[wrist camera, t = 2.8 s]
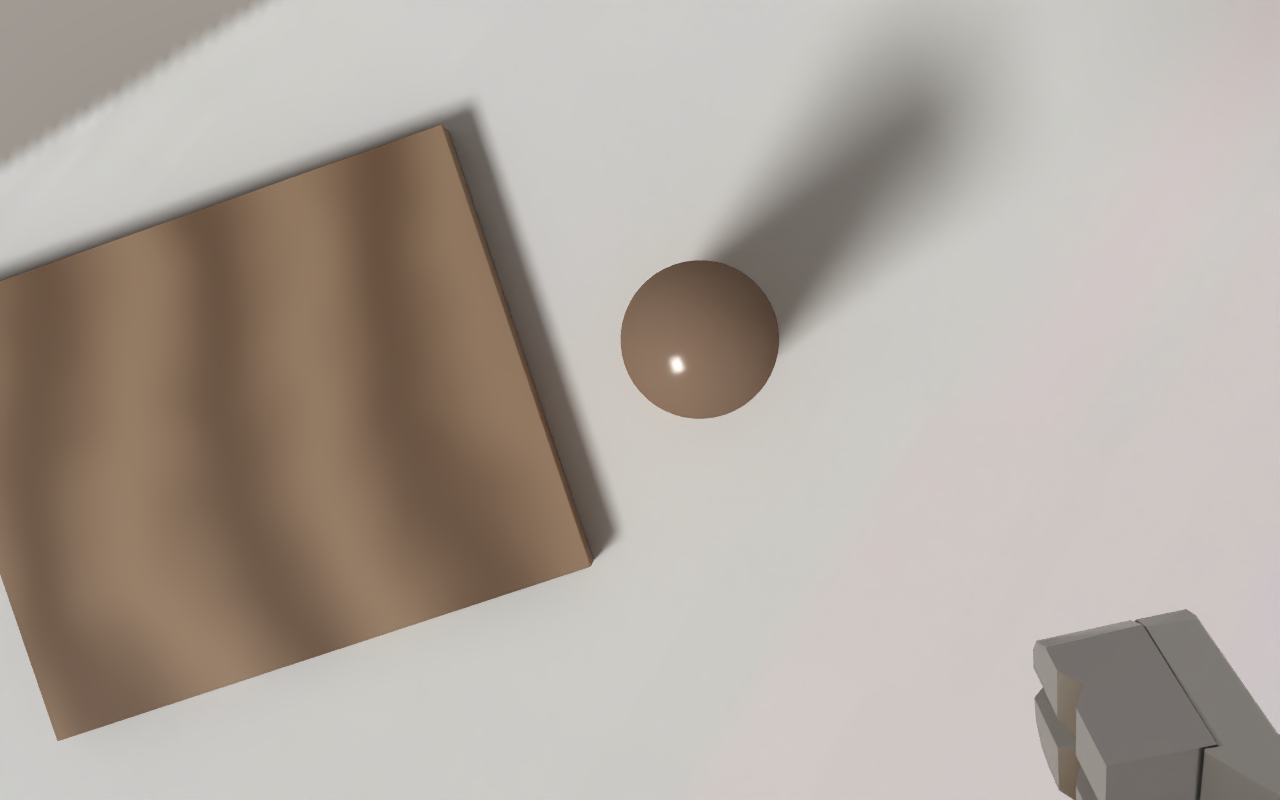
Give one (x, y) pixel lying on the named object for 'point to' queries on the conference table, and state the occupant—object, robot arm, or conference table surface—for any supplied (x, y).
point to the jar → (699, 339)
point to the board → (268, 437)
